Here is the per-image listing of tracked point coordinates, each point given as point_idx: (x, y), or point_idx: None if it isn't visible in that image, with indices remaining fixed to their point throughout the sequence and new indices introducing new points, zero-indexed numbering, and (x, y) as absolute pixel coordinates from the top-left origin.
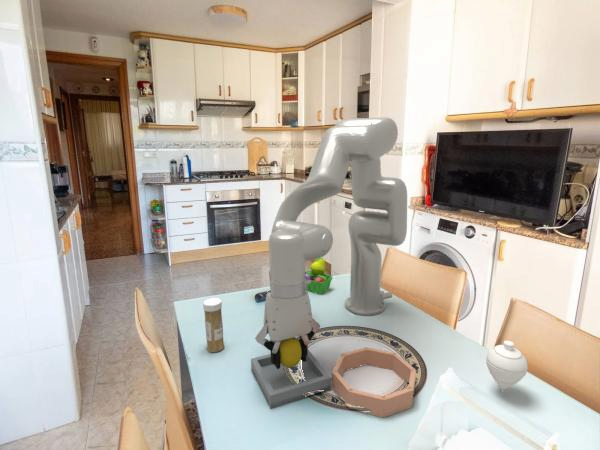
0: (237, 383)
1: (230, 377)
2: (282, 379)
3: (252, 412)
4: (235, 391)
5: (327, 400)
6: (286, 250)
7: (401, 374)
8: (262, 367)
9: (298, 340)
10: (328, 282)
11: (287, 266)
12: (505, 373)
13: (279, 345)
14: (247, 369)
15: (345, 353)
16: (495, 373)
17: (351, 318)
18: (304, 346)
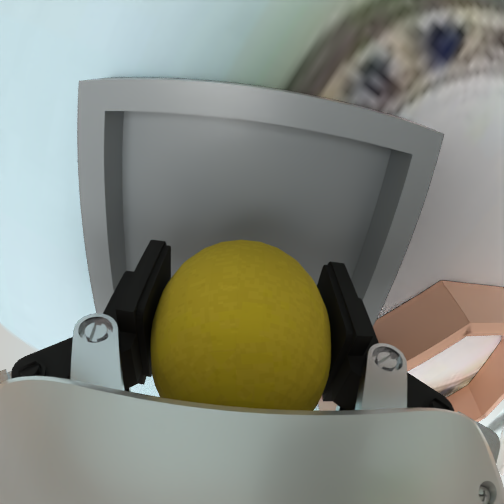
0: (39, 147)
1: (24, 97)
2: (199, 249)
3: (69, 300)
4: (28, 189)
5: None
6: None
7: (487, 371)
8: (147, 114)
9: (317, 402)
10: None
11: None
12: (497, 466)
13: (154, 380)
14: (96, 65)
15: (481, 326)
16: (501, 455)
17: None
18: (327, 399)
